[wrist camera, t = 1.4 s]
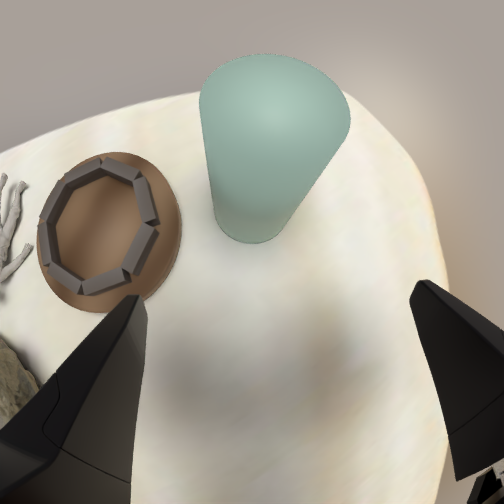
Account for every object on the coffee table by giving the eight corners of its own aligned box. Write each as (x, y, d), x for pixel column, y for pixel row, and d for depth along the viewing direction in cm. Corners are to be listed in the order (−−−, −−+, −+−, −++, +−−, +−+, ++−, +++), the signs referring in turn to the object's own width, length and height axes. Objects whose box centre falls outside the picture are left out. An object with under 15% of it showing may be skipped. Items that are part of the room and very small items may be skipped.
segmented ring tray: (209, 194, 22) (206, 176, 19) (138, 341, 20) (122, 347, 16) (93, 146, 22) (78, 127, 19) (30, 267, 20) (7, 262, 16)
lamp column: (299, 191, 23) (362, 88, 10) (270, 256, 22) (325, 194, 9) (234, 162, 23) (241, 40, 10) (201, 224, 22) (169, 128, 9)
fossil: (67, 358, 22) (-11, 327, 18) (47, 375, 13) (-57, 326, 9) (63, 471, 17) (-13, 443, 13) (56, 523, 8) (-44, 479, 4)
